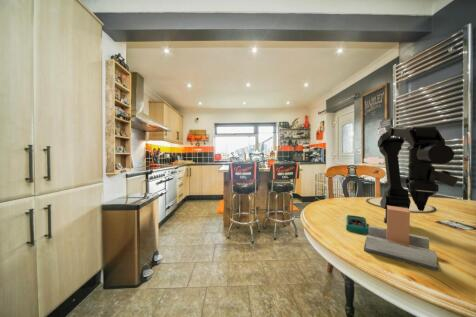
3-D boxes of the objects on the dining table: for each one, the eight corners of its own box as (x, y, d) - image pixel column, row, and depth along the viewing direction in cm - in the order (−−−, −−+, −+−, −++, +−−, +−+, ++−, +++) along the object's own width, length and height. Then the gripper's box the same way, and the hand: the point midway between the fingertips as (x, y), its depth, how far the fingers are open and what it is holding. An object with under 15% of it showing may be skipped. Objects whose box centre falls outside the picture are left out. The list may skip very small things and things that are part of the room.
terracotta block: (386, 242, 60) (387, 205, 59) (407, 247, 57) (408, 208, 56) (386, 248, 56) (387, 209, 56) (408, 254, 53) (409, 212, 52)
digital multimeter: (346, 231, 72) (346, 224, 71) (346, 220, 84) (346, 213, 84) (368, 236, 68) (368, 228, 68) (365, 223, 80) (365, 216, 80)
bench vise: (368, 230, 72) (368, 219, 72) (425, 242, 62) (426, 229, 62) (363, 250, 57) (364, 236, 57) (439, 271, 47) (439, 254, 46)
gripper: (466, 164, 49) (464, 220, 50) (448, 162, 64) (447, 206, 64) (410, 163, 57) (409, 212, 57) (405, 161, 71) (404, 200, 71)
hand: (418, 207), depth 62 cm, fingers open, 9 cm apart
